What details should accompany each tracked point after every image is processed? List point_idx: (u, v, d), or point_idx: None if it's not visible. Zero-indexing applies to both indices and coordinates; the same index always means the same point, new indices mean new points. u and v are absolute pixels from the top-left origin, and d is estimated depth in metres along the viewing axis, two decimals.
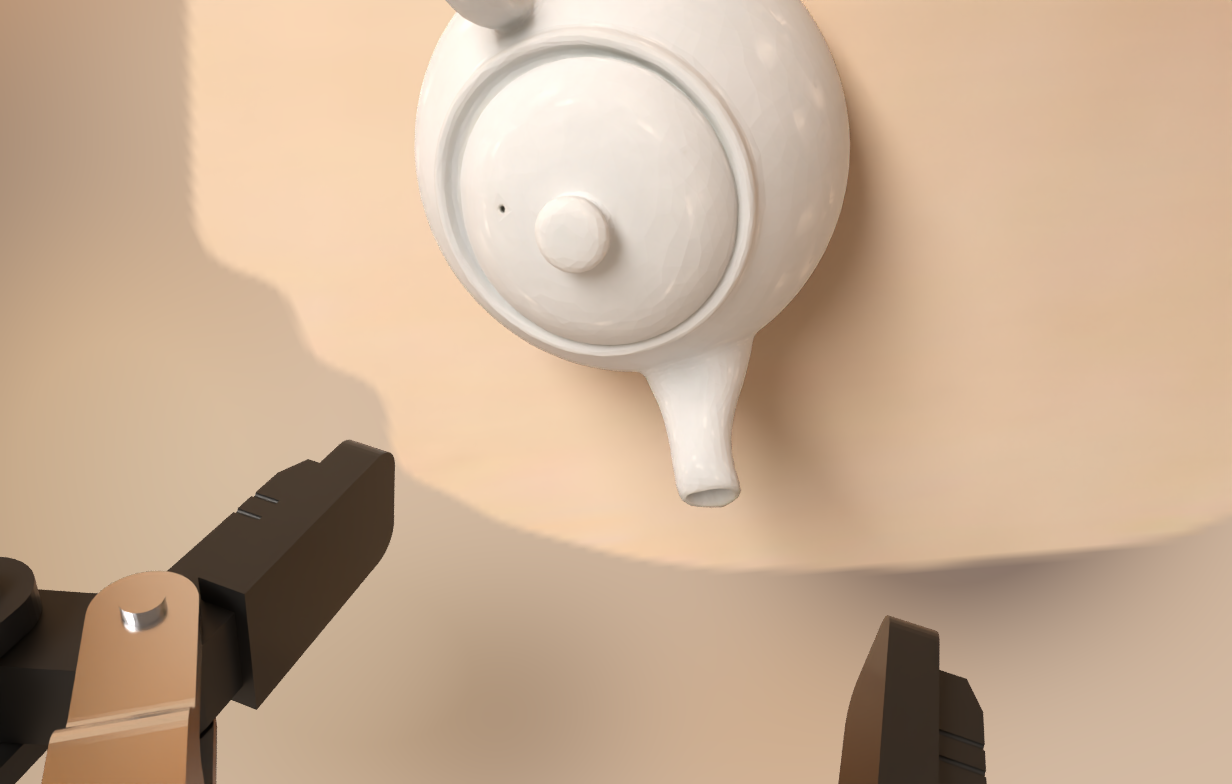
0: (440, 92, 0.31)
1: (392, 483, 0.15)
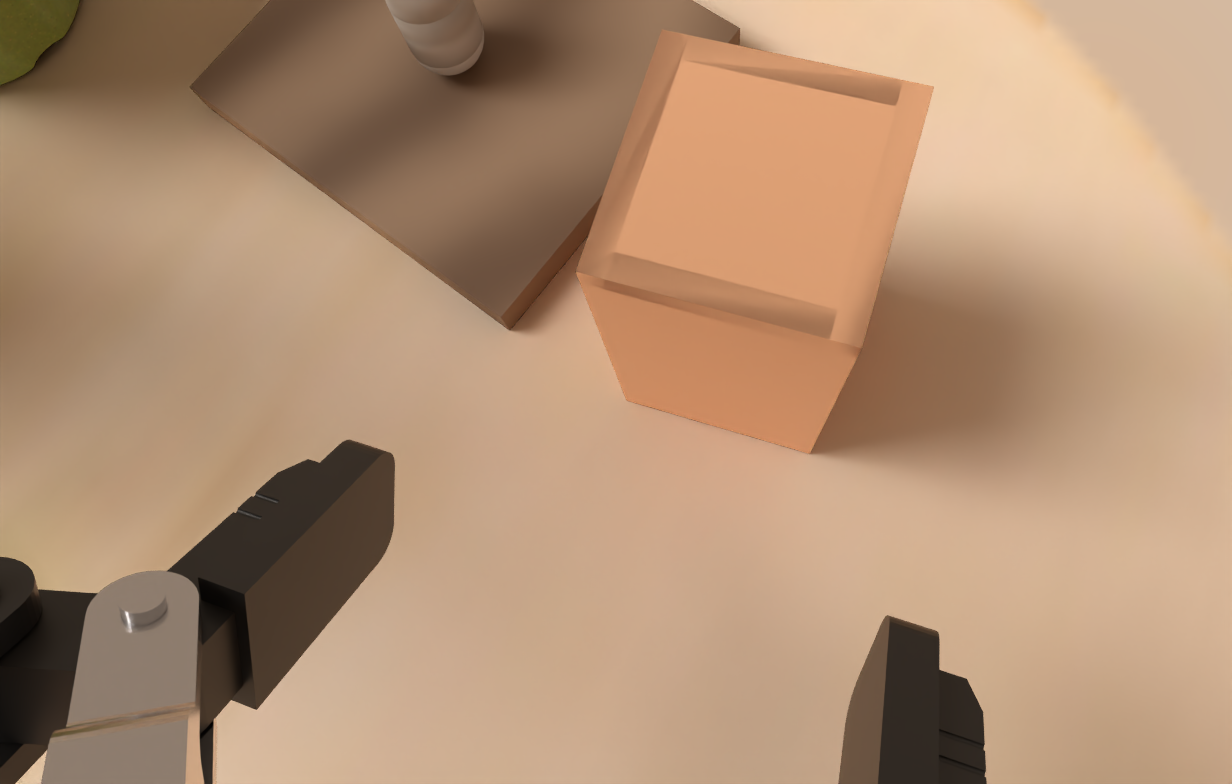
0: None
1: (392, 483, 0.15)
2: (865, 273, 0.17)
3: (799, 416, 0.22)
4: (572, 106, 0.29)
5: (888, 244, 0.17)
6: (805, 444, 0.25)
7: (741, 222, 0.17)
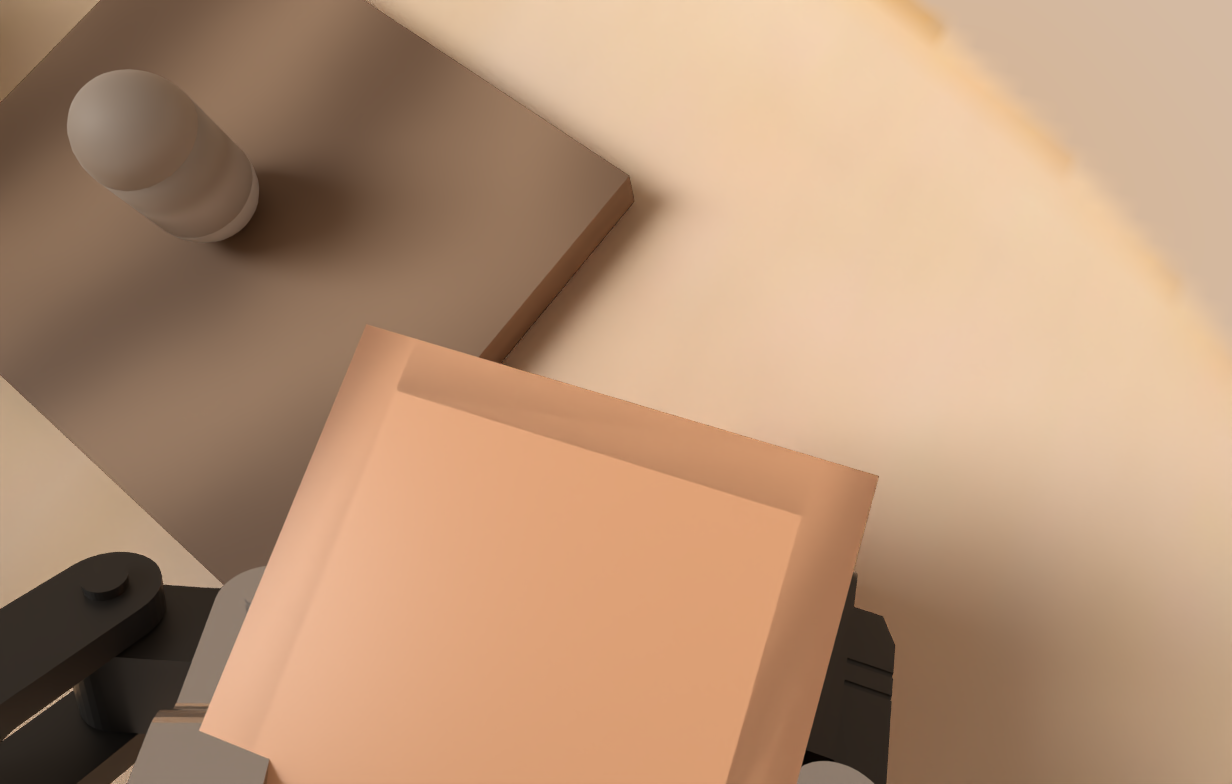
0: None
1: None
2: None
3: None
4: (385, 289, 0.20)
5: None
6: None
7: (482, 763, 0.08)
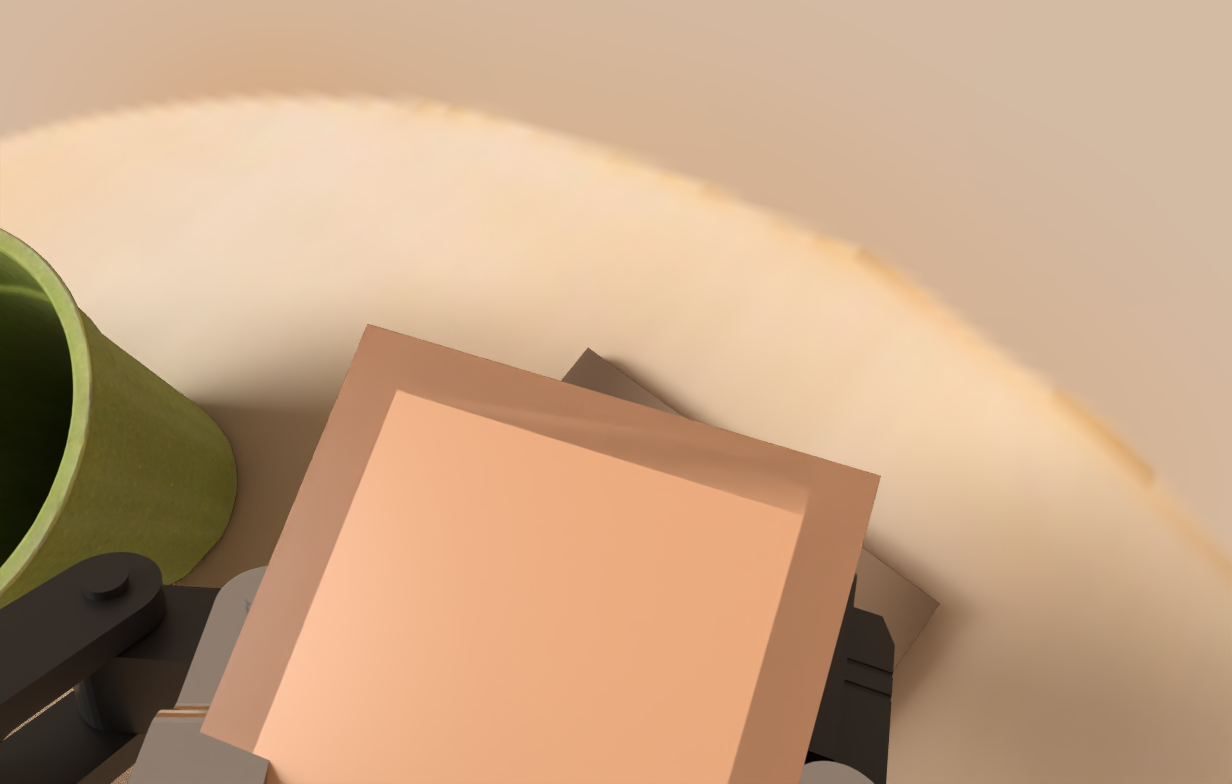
0: None
1: None
2: None
3: None
4: None
5: None
6: None
7: (483, 763, 0.08)
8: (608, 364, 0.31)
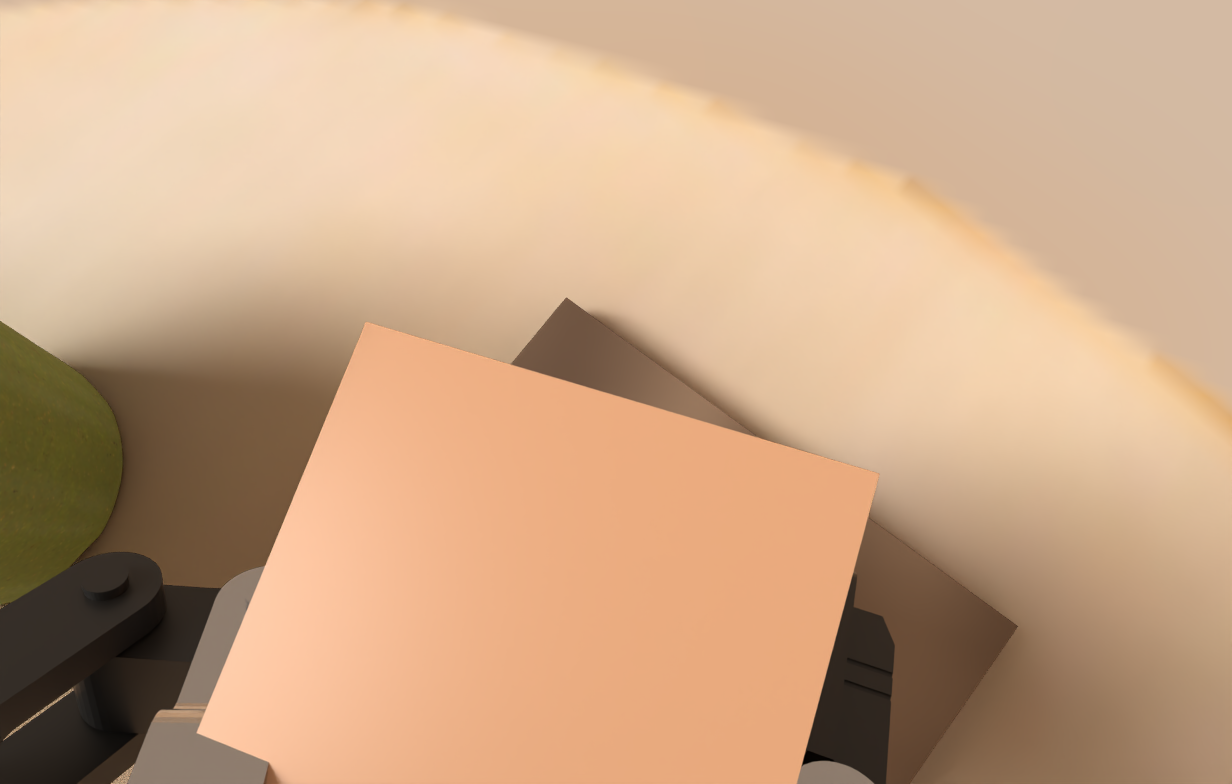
0: None
1: None
2: None
3: None
4: None
5: None
6: None
7: (481, 762, 0.08)
8: (591, 318, 0.24)
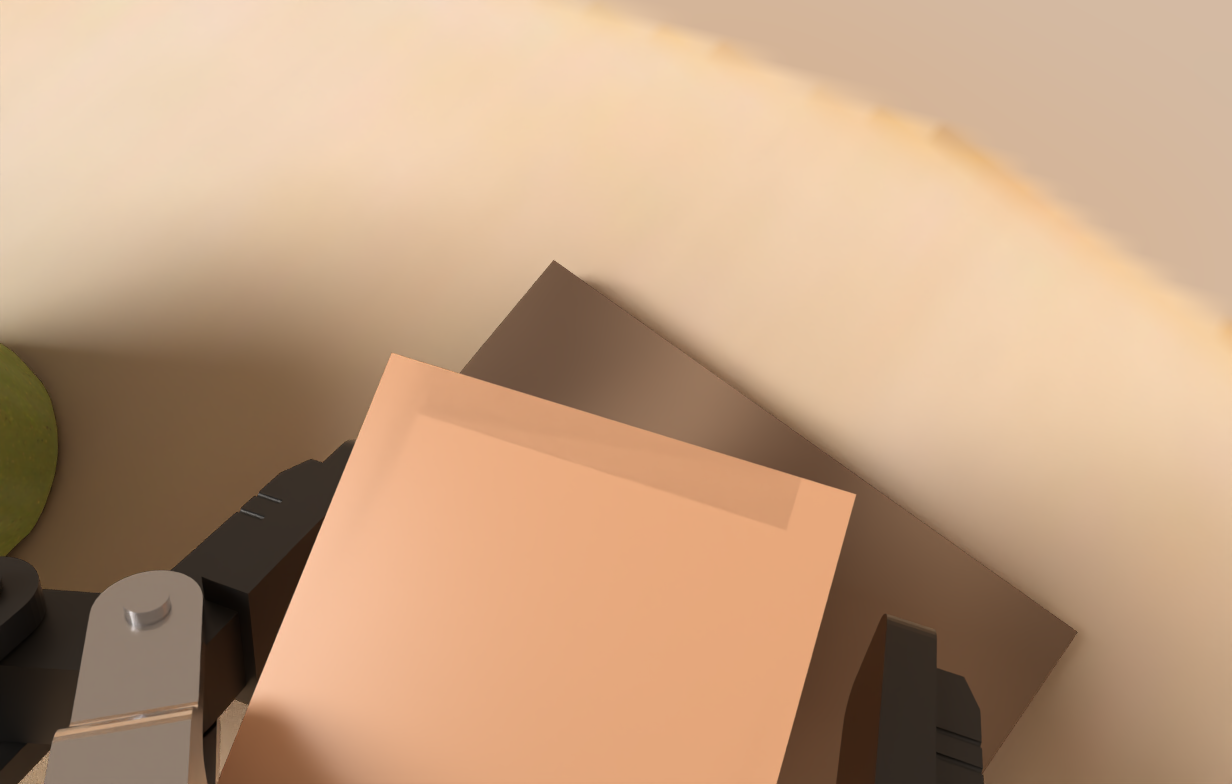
0: None
1: None
2: None
3: None
4: (816, 755, 0.18)
5: None
6: None
7: (497, 752, 0.09)
8: (582, 283, 0.22)
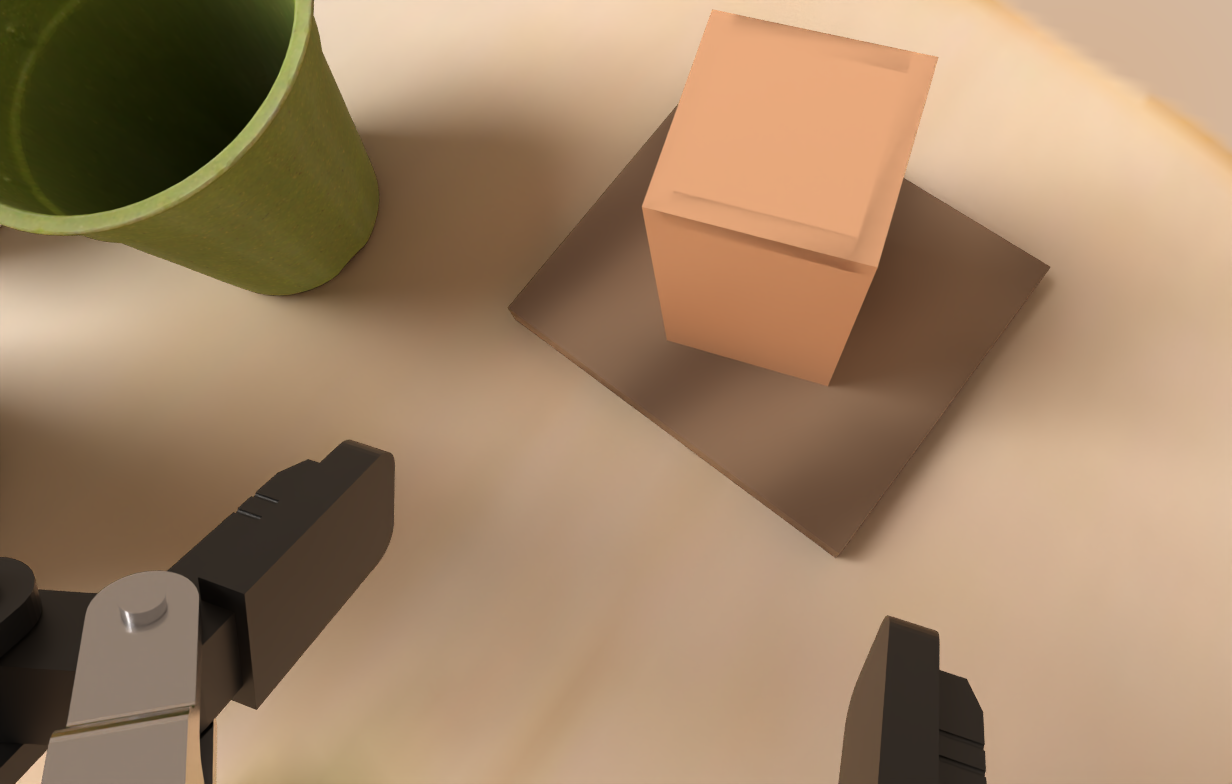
0: None
1: (392, 483, 0.15)
2: (880, 207, 0.21)
3: (821, 344, 0.26)
4: (891, 341, 0.30)
5: (899, 184, 0.21)
6: (824, 375, 0.29)
7: (779, 166, 0.21)
8: None
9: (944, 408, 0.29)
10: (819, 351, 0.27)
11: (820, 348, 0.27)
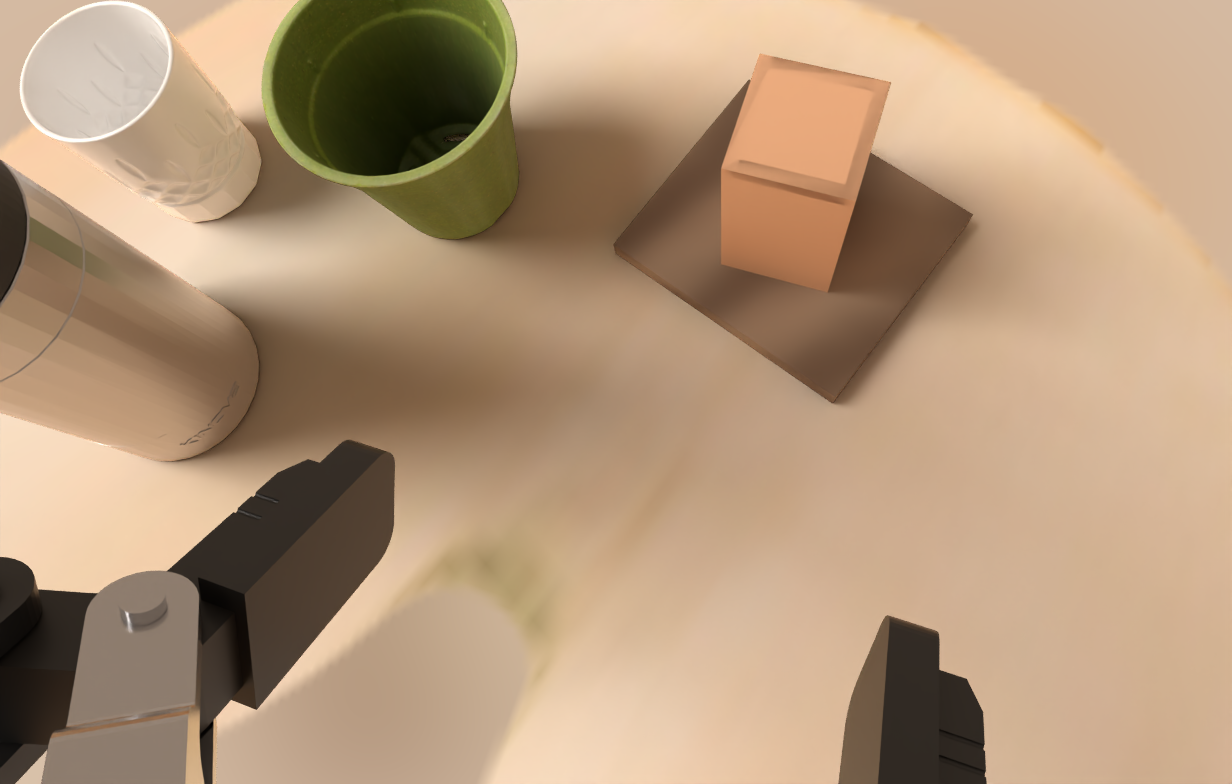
0: None
1: (392, 483, 0.15)
2: (857, 168, 0.36)
3: (823, 258, 0.42)
4: (868, 263, 0.46)
5: (868, 154, 0.37)
6: (825, 283, 0.45)
7: (799, 145, 0.37)
8: None
9: (903, 305, 0.45)
10: (822, 264, 0.43)
11: (823, 261, 0.42)
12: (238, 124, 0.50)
